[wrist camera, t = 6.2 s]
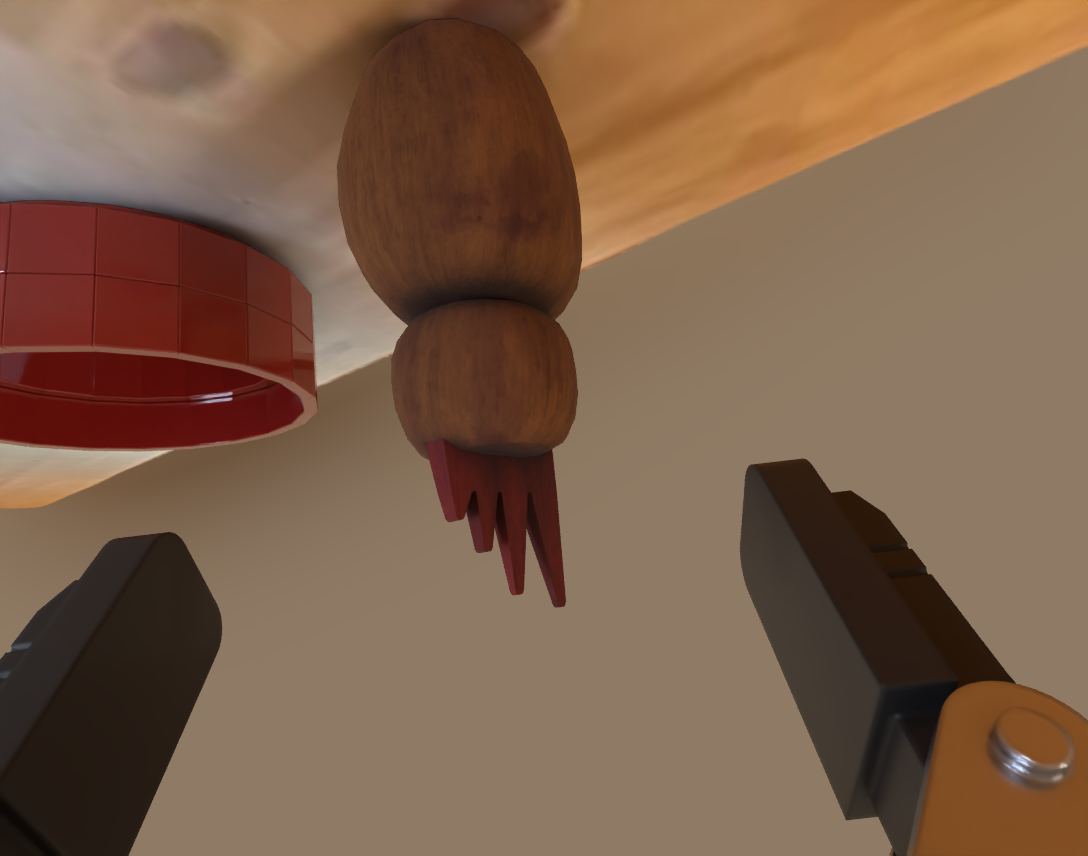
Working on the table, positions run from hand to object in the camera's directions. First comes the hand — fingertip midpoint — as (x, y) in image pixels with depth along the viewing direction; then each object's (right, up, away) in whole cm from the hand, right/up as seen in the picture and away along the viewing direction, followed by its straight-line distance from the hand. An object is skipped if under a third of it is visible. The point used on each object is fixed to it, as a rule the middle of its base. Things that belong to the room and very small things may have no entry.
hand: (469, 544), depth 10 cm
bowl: (-17, +8, +19) cm, 27 cm away
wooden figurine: (-1, +12, +9) cm, 15 cm away
